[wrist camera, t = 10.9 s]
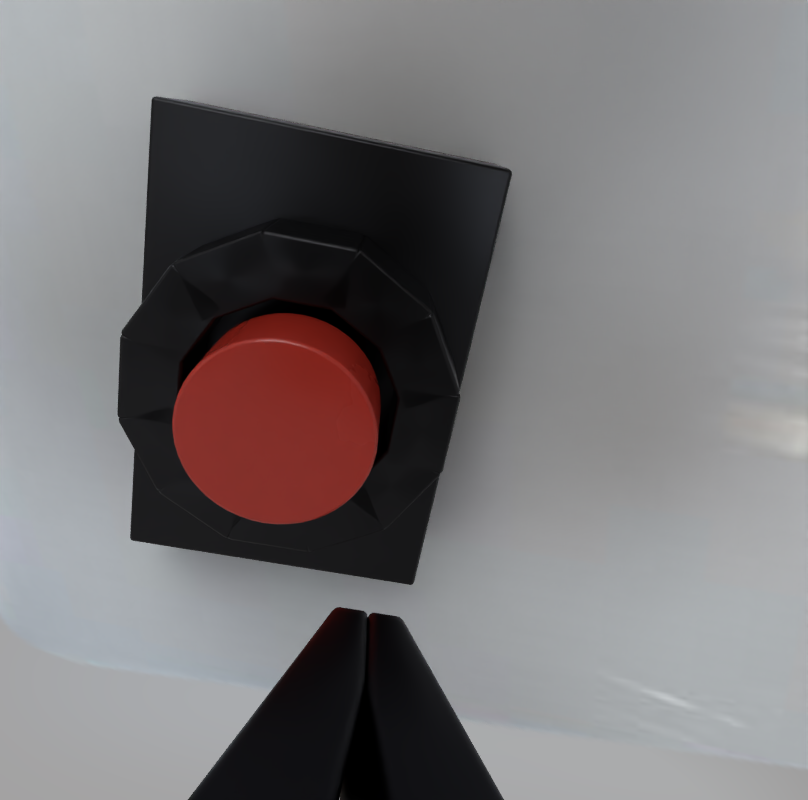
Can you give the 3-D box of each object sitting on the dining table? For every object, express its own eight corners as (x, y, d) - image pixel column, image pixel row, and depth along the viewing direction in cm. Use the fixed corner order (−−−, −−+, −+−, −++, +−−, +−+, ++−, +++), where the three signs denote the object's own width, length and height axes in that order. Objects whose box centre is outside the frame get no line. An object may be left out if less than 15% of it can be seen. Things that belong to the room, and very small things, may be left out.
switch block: (412, 536, 19) (414, 637, 15) (159, 495, 18) (97, 588, 15) (498, 164, 15) (529, 176, 11) (185, 100, 15) (111, 90, 11)
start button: (364, 493, 14) (359, 540, 13) (192, 464, 14) (164, 508, 12) (396, 330, 13) (394, 360, 11) (206, 295, 13) (177, 320, 11)
